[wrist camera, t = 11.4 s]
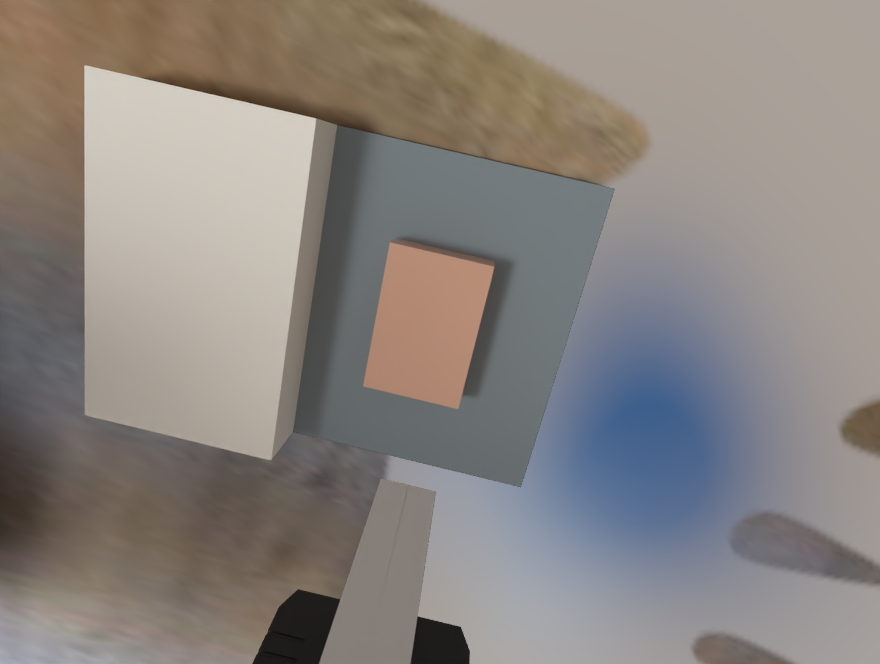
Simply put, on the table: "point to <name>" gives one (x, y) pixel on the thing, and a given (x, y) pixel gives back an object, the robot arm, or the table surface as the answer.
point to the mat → (505, 312)
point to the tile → (427, 322)
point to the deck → (199, 260)
